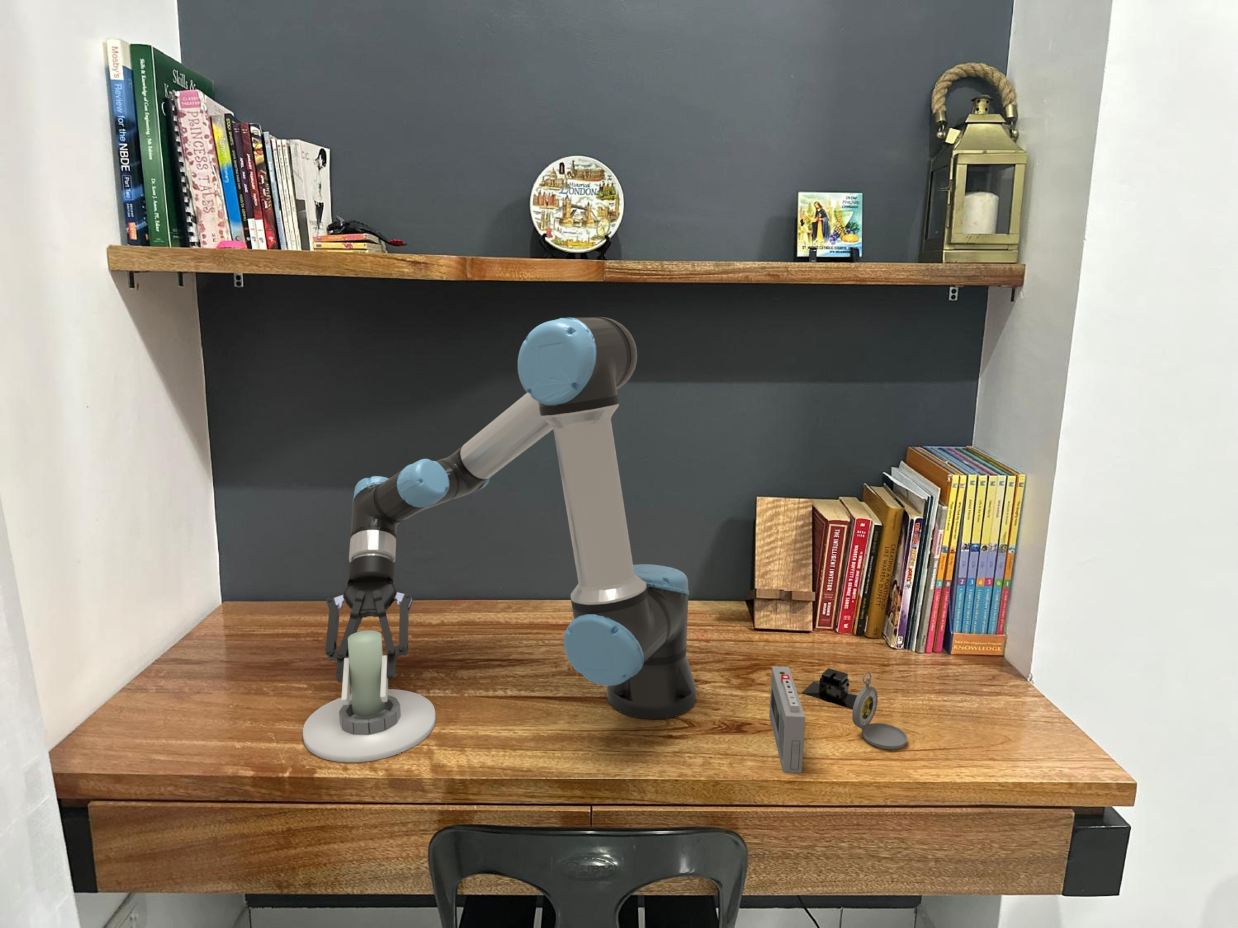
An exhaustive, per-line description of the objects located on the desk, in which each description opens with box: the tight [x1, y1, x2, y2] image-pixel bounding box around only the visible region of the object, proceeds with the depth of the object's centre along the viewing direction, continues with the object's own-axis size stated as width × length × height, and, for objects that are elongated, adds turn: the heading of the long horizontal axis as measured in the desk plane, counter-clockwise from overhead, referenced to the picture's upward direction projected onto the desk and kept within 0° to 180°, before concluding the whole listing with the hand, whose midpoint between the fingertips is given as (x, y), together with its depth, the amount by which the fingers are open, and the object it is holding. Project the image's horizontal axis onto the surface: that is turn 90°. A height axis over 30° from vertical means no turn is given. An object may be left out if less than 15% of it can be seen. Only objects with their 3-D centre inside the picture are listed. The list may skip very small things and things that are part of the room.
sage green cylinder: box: [348, 629, 385, 716], centre depth 125 cm, size 5×5×12 cm
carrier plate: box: [302, 688, 436, 764], centre depth 126 cm, size 20×20×3 cm
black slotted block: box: [801, 667, 858, 711], centre depth 138 cm, size 12×7×5 cm, turn 52°
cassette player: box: [768, 665, 806, 774], centre depth 122 cm, size 16×3×10 cm, turn 177°
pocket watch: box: [851, 671, 908, 750], centre depth 124 cm, size 8×8×10 cm
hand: (364, 700), depth 122 cm, fingers closed on sage green cylinder, 5 cm apart
